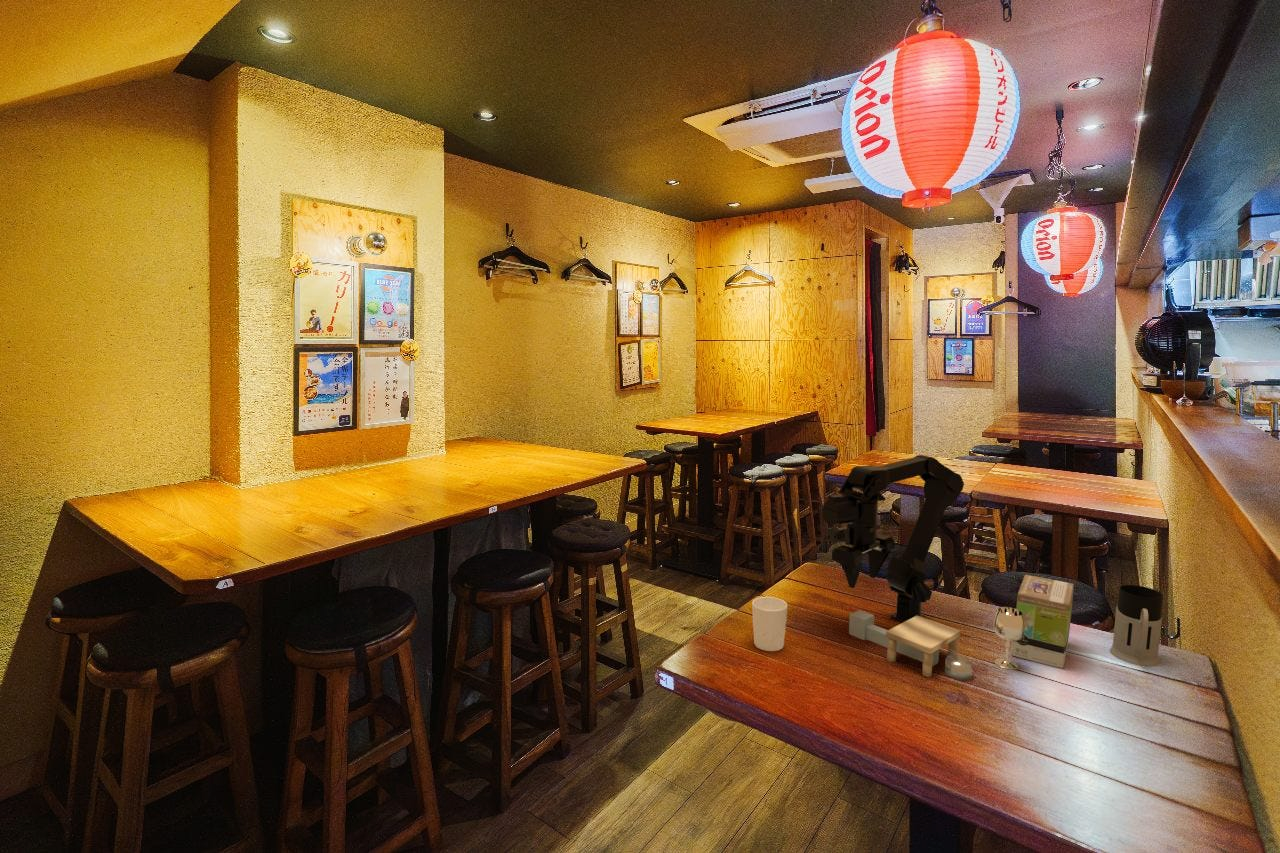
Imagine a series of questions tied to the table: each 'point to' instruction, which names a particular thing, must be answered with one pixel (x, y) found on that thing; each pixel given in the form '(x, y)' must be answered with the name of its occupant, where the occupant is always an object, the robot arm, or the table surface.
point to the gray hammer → (881, 635)
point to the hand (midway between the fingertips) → (862, 582)
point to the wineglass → (1008, 631)
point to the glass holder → (1137, 625)
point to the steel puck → (958, 667)
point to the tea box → (1044, 620)
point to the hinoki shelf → (922, 639)
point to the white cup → (769, 623)
